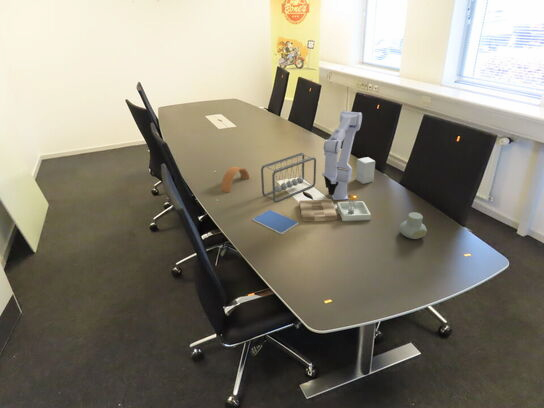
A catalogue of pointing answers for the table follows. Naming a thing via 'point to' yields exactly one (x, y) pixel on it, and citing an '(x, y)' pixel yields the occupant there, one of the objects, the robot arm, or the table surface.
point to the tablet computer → (275, 221)
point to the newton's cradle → (289, 183)
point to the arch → (230, 175)
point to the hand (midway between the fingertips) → (329, 191)
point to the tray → (360, 211)
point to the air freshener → (413, 226)
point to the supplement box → (365, 170)
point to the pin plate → (317, 215)
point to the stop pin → (352, 203)
